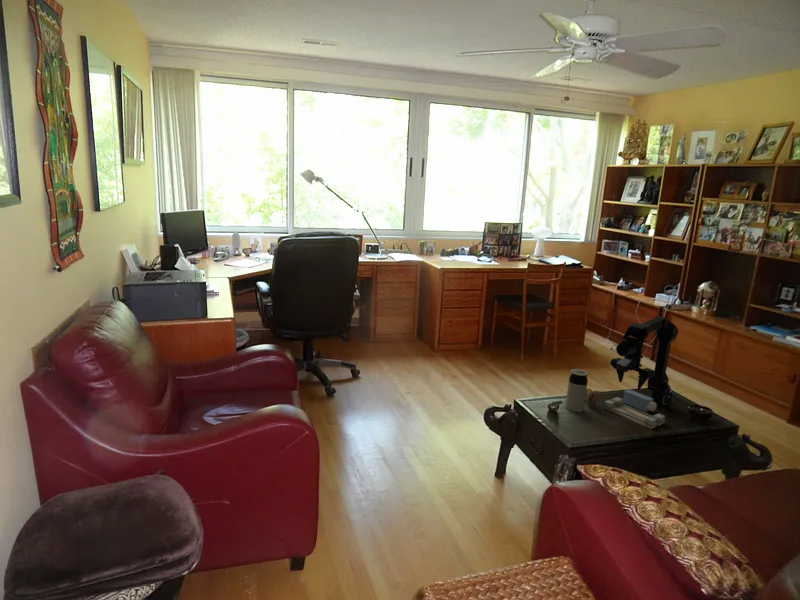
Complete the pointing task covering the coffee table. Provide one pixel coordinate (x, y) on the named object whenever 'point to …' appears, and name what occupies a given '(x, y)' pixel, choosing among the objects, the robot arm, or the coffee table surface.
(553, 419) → the coffee table surface
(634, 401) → the slate grey rectangular prism
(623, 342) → the robot arm
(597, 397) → the lion figurine
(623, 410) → the cradle
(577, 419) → the coffee table surface
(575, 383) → the travel mug
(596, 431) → the coffee table surface
